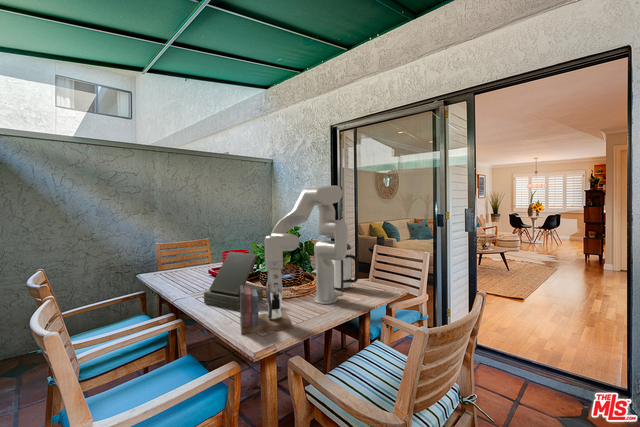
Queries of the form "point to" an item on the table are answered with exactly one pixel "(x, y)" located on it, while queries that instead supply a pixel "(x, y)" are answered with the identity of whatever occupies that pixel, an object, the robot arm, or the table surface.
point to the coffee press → (345, 270)
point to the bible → (232, 281)
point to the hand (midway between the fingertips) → (274, 305)
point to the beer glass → (271, 313)
